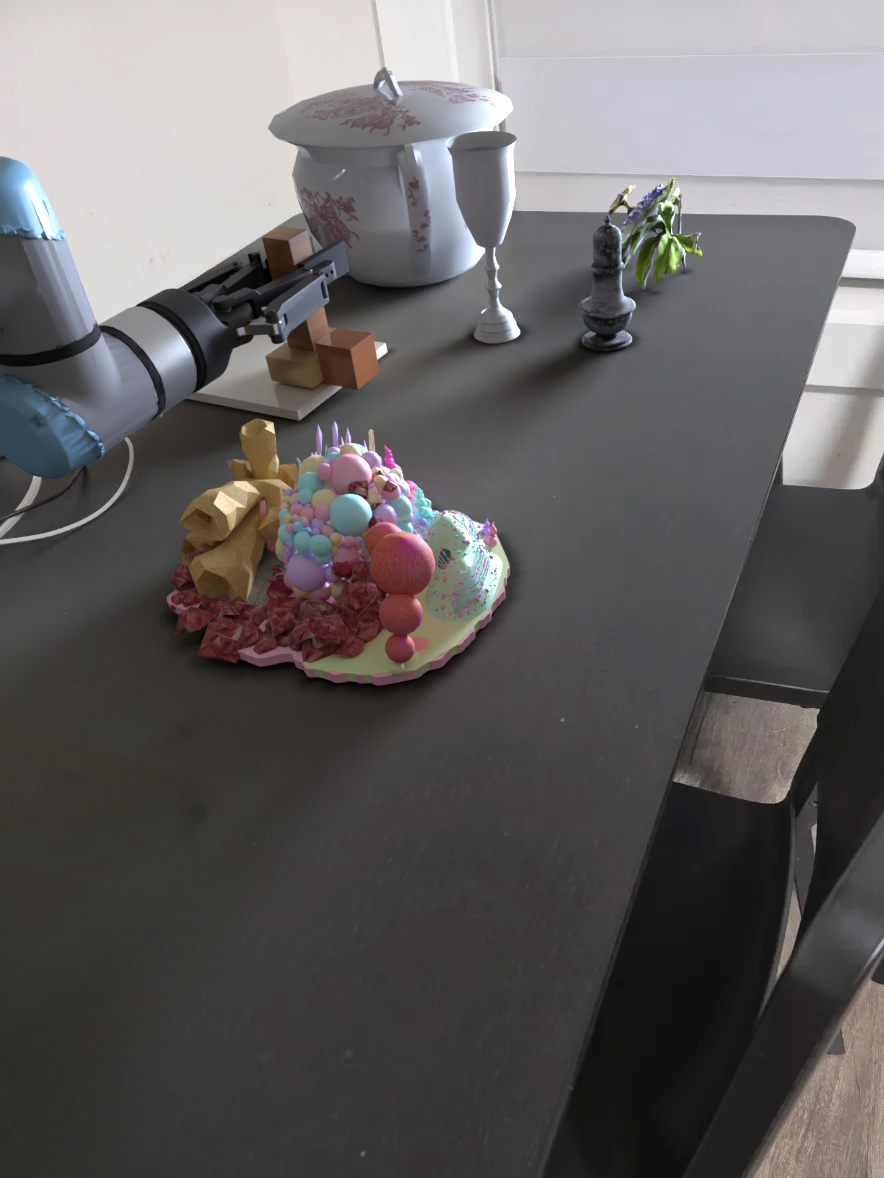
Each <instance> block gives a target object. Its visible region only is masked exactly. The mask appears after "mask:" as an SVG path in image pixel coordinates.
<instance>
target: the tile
mask: <svg viewBox="0 0 884 1178" xmlns="http://www.w3.org/2000/svg"><path fill="white" fill-rule="evenodd" d="M286 342H287V339H286V341H285V342H283V343H281V344H273V343H272V341H271V338H269V337H268V335H254V338H253V339H252V341H251V342H249V343H247V344H244V345H241V346H239V347H237V348H234V349H233V350H232V353H231V356H230V359H229V363H228V366H227V369H226V371H225V372H224V373H223V374H222V375H221V376H220V377H219V378H217V379H216V380H214V381H213V382H211V383H210V384H208V385H207V386H205V387H204V388H202V389H200V390H199V391H197V392H195V393H192V394H191V395H190V396H189V397H187V398H185V400H186V399H187V400H192V401H197V402H202V403H206V404H213V405H218V406H223V407H227V408H232V409H238V410H243V411H248V412H253V413H258V414H263V415H269V416H274V417H277V418H278V417H279V418H285V419H289V420H295V421H301V420H303V418H305V417H306V416H308V415H309V414H310V413H311V412H312V411H314V410H315V409H316V408H318V407H319V406H321V404H323V403H324V402H326V401H327V400H328V399H329V398H331V397H332V396H333V395H334V394H336V393H337V392H338V391H340V390H341V389H342V388H343V387H340V386H335V385H330V384H325V383H324V381H322V382H321V383H319V384H318V385H317V386H315V387H314V388H308V387H303V386H297V385H292V384H287V383H281V382H276V381H272V380H271V376H270V373H269V369H268V365H267V361H266V358H265V356H266V355H268V354H269V353H271V352H272V351H274V350H275V349H277V348H278V347H280V346H281V345H283V344H284V343H286ZM374 343H375V349H376V355H377V361H378V360H380V359H381V358H382V357H383V356H384V355H386V354H387V353H388V348H387V346H388V345H387V343H386V342H381V341H375V340H374Z"/></svg>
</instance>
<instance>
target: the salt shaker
mask: <svg viewBox="0 0 884 1178" xmlns="http://www.w3.org/2000/svg"><path fill="white" fill-rule="evenodd" d="M611 220H612V219H611V218H610V215H609V214H606V215H605V216H604V219H603V221H604V223H603V224H602V225H600V226H598V227H597V228H596V229H595V230H594V232H593V234H592V262H591V263H590V264H589V267H588V268H589V270H590V271H591V272H592V273H591V275H592V276H591V277H592V278H591V280H592V283H591V284H592V287H591V292H590V296H588V297H587V298H584V299H583V300H581V301H580V303H579V304H578V306H577V307H578V311H579V312H580V313H581V319H582V321H583V323H584V325H585V327H586V328H587V329H588V330H589V331H588V332H586V333H585V334H584V335H583V336H582V338H581V343H582V346H584V347H586V348H588V349H589V350H593V351H597V352H599V351H600V352H611V351H618V350H622V349H624V348H626V347H628V346H629V345H631V343H632V342H633V337H632V336H631V335H632V334H630V333H629V332H627V331H626V330H625V329H626V328H627V327H628V326H629V325H630V323H631V320H632V317H633V312H634V311H635V309H636V307H637V306H636V305H637V304H636V302H635V301H634V300H633V299H632V298H631V297H628V296H625V295H624V291H623V285H622V284H623V270H624V269H625V268H626V265H625V264H624V263H623V262H622V261H621V243H622V235H621V231H620V230H619V228H618V226H616V225H613V224H612V223H611Z"/></svg>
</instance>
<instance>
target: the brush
mask: <svg viewBox="0 0 884 1178" xmlns="http://www.w3.org/2000/svg"><path fill="white" fill-rule="evenodd" d="M309 237H310V235H309V229H304V228H296V227H288V226H280V227H277V228H275V229H274V230H272V231H270V232H268V233H267V234H265V235H263V236H262V237H261V241H262V245H263V249H264V253H265V256H266V258H267V261H268V265H269V269H270V273H271V277H272V281H274V280H276V279H279V278H281V277H283V276H285V275H287V274H289V273H291V272H293V271H296V270H298V263H299V262H301V261H303V260H304V259H306V258H308V257H310V256H311V255H313V252H312V248H311V243H310V238H309ZM325 310H326V308H325V305H324V306H323V307H322V308H321V309H319V310H318V311H317V312H315V313H314V314H313V315H312V316H310V317H309V318H308V319H306V320H305V321H304V322H303V323H301V324H300V325H299V326H297V327H296V328H295V329H293V330H292V331H291V332H290V333H289V335H288V337H287V342H286V343H284V344H283V345H281V346H280V347H278V348H277V349H275V350H274V351H272V352H271V353H269V354H268V355H266V356H265V358H266V361H267V365H268V369H269V373H270V376H271V380H272V381H276V382H281V383H287V384H292V385H297V386H303V387H308V388H314V387H315V386H317V385H318V384H319V383H321V382H322V381H323V376H322V372H321V367H320V362H319V358H318V353H317V348H316V343H317V342H318V341H320V340H321V339H322V338H324V337H325V336H327V335H328V334H330V333H331V332H332V331H334V330H335V329H337V328H338V327H331V326H329V323H328V319H327V315H326V311H325Z"/></svg>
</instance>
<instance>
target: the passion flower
mask: <svg viewBox="0 0 884 1178" xmlns="http://www.w3.org/2000/svg"><path fill="white" fill-rule="evenodd" d="M675 181H676V178H675V177H670V178H669V179H668V181H667V184H666V185H663V183H662V182H661V183H660V184H659V185H656V186H655V187H654V189H652V191H648V192H647V194H645V195H644V194H643V195H642V199H640V201H638V202H637V204H636V205H634V206H633V205H630V204H629V202H628V201H627V198H628V197H629V196H630V195H631V194H632V193H633V191H634V190H635V189H636V184H632V185H629V186H628V187H627V188H625V189H624V190H623V191H622V192H621V193H618V194H617V197H616V198H615V199H614V200H613V202H612V204H611V205H610V207H609V209H608V212H607V213H608V214H607V215H608V216H611V215H613V214H614V213H615V212H616V211H617V209H618V208H620V207H621V206H623V207H624V208H626V210H627V213H626V218H625V220H624V222H623V223H622V224H621V225H619V226H617V228H619V230H620V231H621V235H622V243H621V261H622V262H623V263H624V264H625V266H626V265H627V264H628V262H629V260H630V258H631V259H634V257H635V253H636V251H637V250H638V249H639V253H638V255H637V260H636V265H635V280H636V284H637V285H638V286H639V287H641V289H642V290H643V291H645V290H646V285H647V283H646V281H647V279H648V277H649V273H651V270H652V266H653V283H654V284H658V283H660V282H661V281H662V280H663V279H664V278H665V277H666V276H672V275H674V273H675V272H676V271H677V270H678V268H680V266H681V264H682V267H683V270H684V272H685V273H686V272H687V268H686V267H687V266H686V252H687V253H688V254H689V255H693V256H695V257H699V258H700V257H701V258H702V257H703V253H702V250H701V248H700V247H699V245H698V240H699V237H700V235H701V234H702V233H701V231H698V232H693V233H692V234H689V235H685V234H682V210H683V209H682V208H683V195H682V194H681V192H680V188H679V187H674V185H675V183H676V182H675ZM673 188H674V191H673V193H672V194H671V192H672V190H673ZM670 194H671V196H670ZM669 196H670V197H669ZM668 199H669V201H667V200H668ZM675 206H677V211H678V213H677V233H673V229H672V228H673V222H674V220H675V215H676V211H675V210H674V208H675ZM658 229H659V230H662V231H659V232H658V231H657V230H658ZM650 232H653V233H655V234H657V235H656V236H650V237H648V238H647V239H645V240H644V241H643V239H644V238H645V237H646V236H647V235H648V234H649V233H650ZM691 237H693V238H691ZM642 241H643V242H642ZM641 243H642V244H641ZM640 244H641V245H640ZM639 246H640V247H639ZM685 251H686V252H685ZM655 252H656V259H655V260H654V256H655ZM653 260H654V263H653Z"/></svg>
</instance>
